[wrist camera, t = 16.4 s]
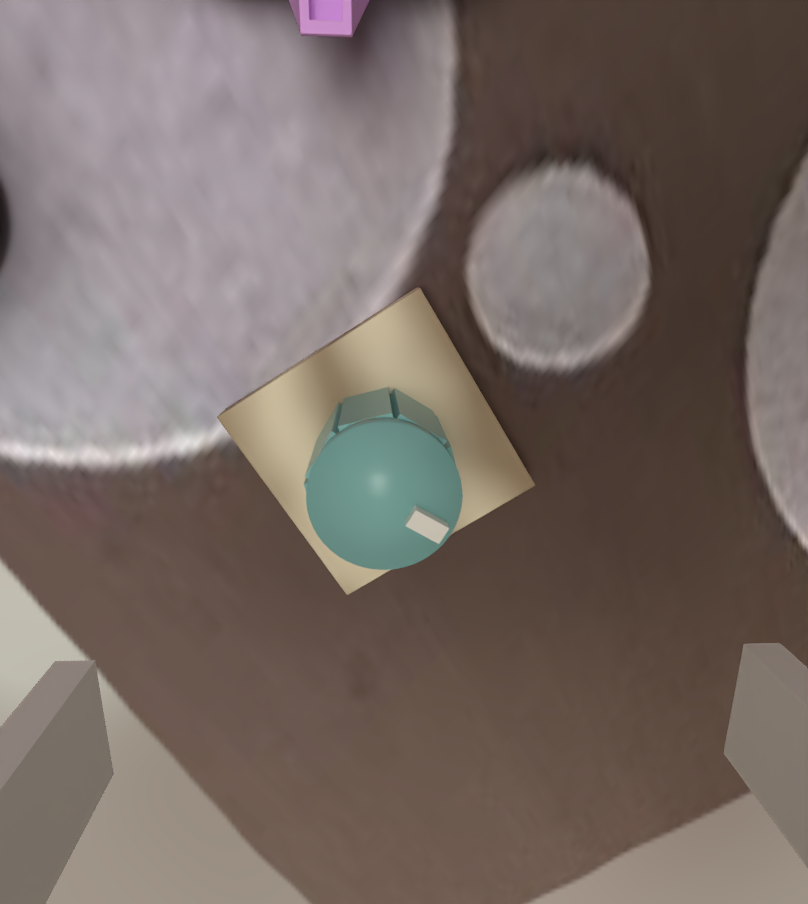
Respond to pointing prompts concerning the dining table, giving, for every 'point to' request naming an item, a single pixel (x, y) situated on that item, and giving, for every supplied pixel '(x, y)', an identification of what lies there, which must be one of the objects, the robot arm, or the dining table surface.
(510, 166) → the dining table surface
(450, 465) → the cap
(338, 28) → the teapot
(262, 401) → the bolt post
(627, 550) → the dining table surface
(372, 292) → the dining table surface
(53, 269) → the dining table surface
